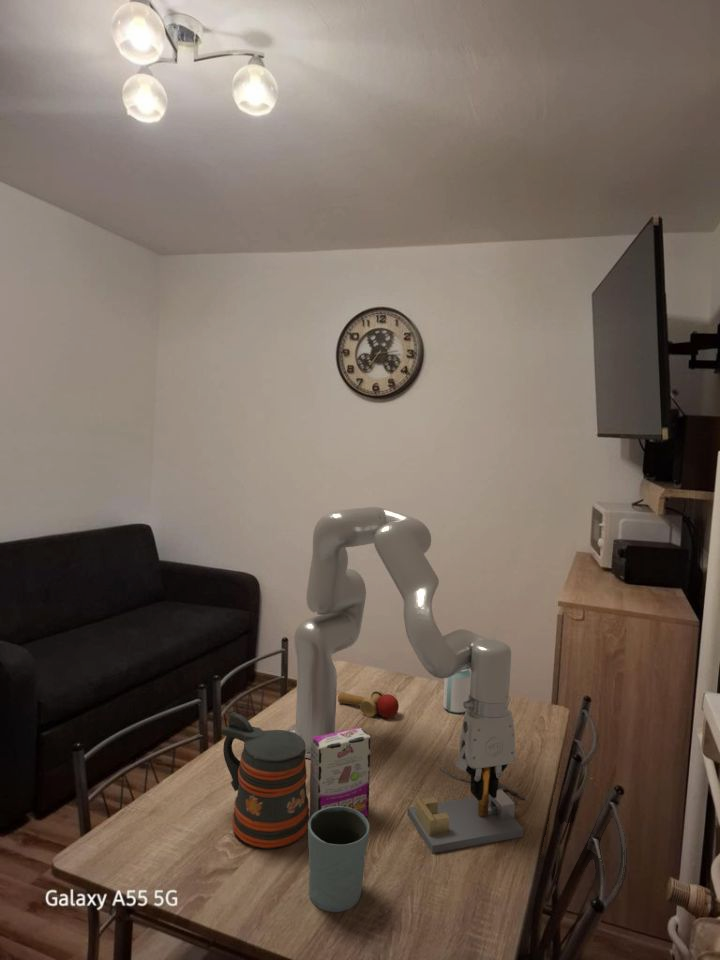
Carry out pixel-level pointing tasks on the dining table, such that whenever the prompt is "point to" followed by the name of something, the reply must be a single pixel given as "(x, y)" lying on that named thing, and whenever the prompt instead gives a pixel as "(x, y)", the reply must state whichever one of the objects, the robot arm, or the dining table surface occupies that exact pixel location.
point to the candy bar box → (340, 770)
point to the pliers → (500, 786)
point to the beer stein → (267, 784)
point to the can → (456, 691)
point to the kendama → (373, 703)
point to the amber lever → (485, 795)
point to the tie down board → (467, 826)
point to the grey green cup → (336, 857)
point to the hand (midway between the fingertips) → (483, 794)
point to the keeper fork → (431, 817)
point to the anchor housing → (502, 805)
